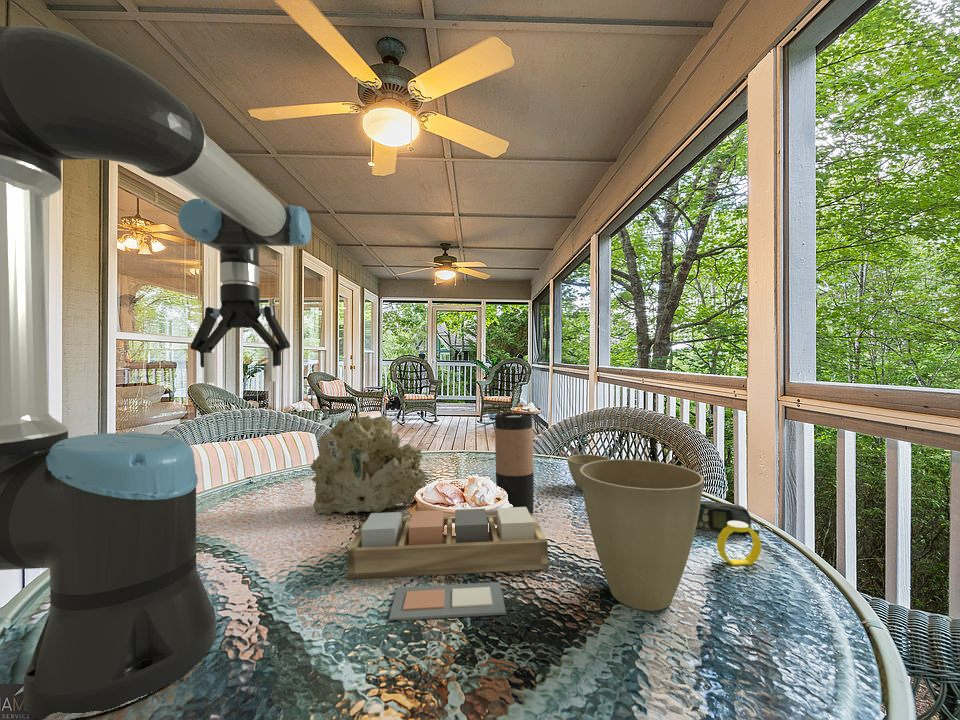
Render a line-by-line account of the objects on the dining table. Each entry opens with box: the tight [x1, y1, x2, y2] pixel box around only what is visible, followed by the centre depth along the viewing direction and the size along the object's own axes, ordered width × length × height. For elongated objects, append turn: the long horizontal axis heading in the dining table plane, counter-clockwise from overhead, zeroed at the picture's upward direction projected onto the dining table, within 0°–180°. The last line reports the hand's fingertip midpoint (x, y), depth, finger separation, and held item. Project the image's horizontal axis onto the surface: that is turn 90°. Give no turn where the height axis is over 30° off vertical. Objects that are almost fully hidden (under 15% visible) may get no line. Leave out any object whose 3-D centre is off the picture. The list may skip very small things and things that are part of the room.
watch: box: [716, 521, 762, 567], centre depth 62 cm, size 6×3×6 cm, turn 94°
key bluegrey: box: [361, 511, 402, 547], centre depth 66 cm, size 7×5×3 cm
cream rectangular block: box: [496, 507, 534, 541], centre depth 67 cm, size 7×5×3 cm
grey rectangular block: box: [454, 508, 489, 543], centre depth 67 cm, size 7×5×3 cm
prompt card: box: [388, 581, 507, 622], centre depth 54 cm, size 7×14×1 cm, turn 93°
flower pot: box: [566, 454, 611, 491], centre depth 100 cm, size 10×10×7 cm
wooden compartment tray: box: [346, 512, 549, 580], centre depth 67 cm, size 12×29×4 cm, turn 93°
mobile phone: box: [696, 500, 760, 535], centre depth 75 cm, size 5×3×15 cm
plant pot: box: [580, 458, 705, 612], centre depth 54 cm, size 15×15×16 cm
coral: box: [309, 415, 429, 515], centre depth 89 cm, size 25×10×20 cm, turn 87°
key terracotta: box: [409, 509, 445, 545], centre depth 66 cm, size 7×5×3 cm
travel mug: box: [494, 412, 535, 514], centre depth 84 cm, size 8×8×20 cm
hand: (241, 382), depth 92 cm, fingers open, 13 cm apart
